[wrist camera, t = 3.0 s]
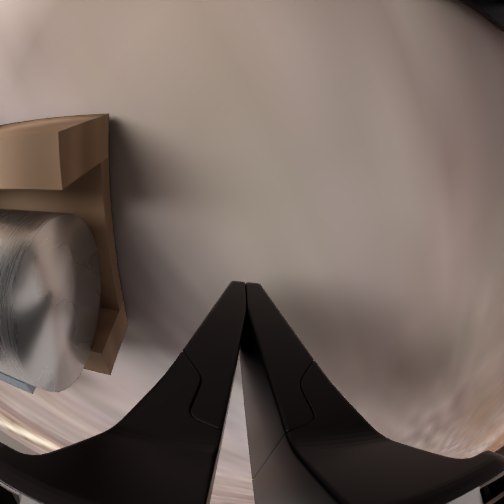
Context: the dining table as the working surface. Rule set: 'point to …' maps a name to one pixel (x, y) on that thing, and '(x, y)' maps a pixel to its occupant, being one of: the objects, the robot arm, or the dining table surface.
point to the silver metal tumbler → (47, 297)
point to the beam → (70, 201)
